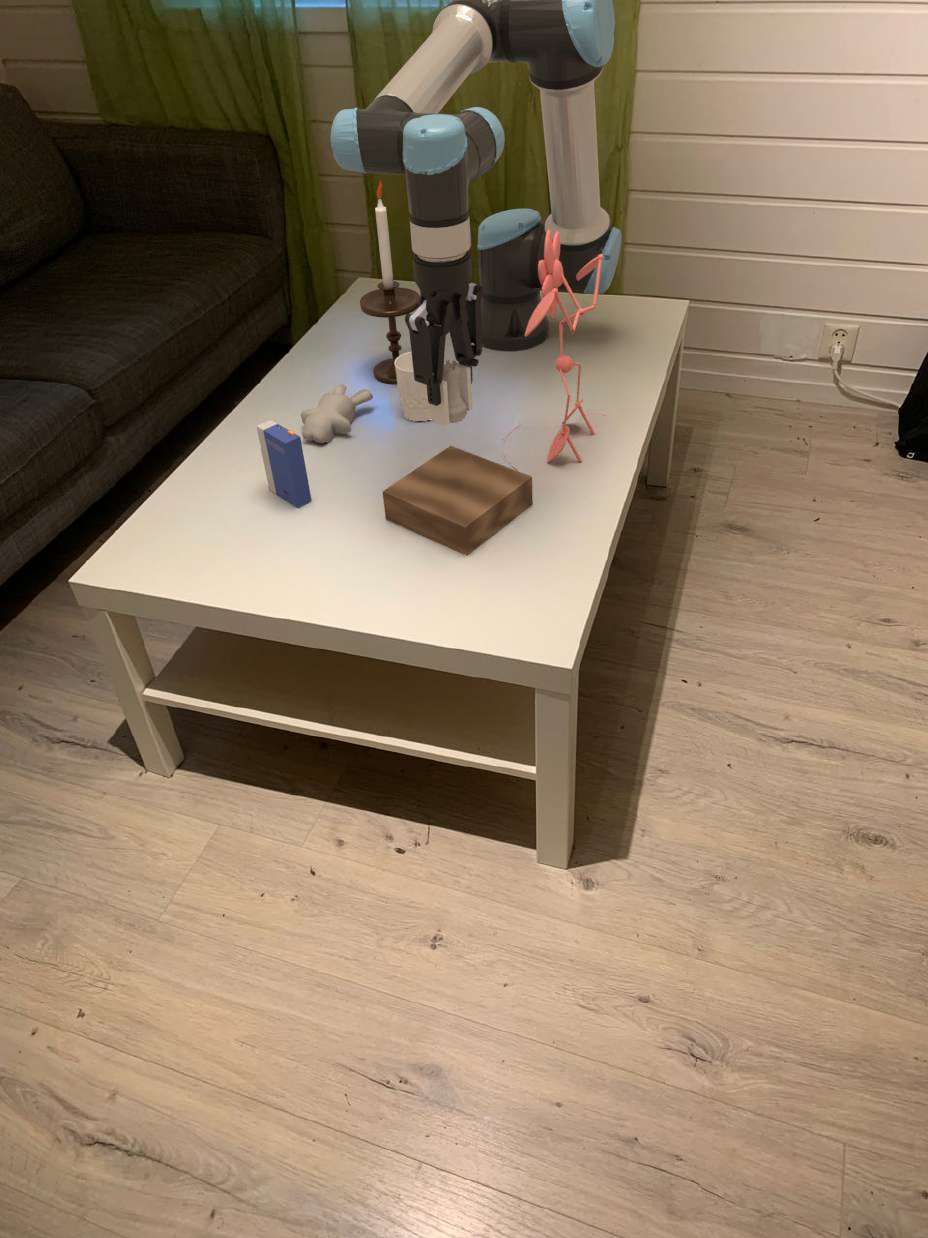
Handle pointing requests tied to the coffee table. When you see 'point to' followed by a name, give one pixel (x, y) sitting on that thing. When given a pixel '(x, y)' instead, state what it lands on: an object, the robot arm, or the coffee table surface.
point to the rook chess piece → (454, 392)
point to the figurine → (561, 324)
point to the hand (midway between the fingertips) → (452, 414)
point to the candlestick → (388, 298)
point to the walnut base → (458, 499)
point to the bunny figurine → (332, 414)
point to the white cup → (411, 390)
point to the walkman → (284, 463)
